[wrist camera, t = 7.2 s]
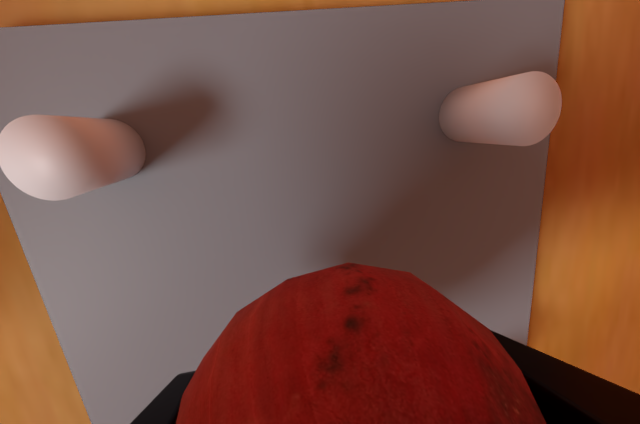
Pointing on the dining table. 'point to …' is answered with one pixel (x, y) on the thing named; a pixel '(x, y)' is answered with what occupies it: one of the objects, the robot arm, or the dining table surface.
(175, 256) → the plate
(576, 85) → the dining table surface
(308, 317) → the onion
